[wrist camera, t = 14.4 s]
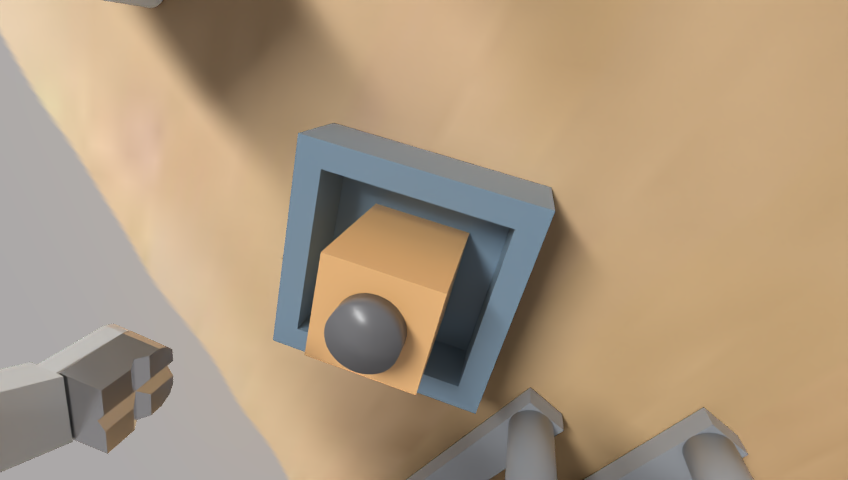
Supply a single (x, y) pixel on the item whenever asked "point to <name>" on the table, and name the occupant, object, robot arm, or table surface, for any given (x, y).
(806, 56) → the table surface
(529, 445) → the clip
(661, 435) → the clip
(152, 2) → the product box
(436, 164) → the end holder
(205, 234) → the table surface
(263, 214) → the table surface
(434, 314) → the block with round knob
